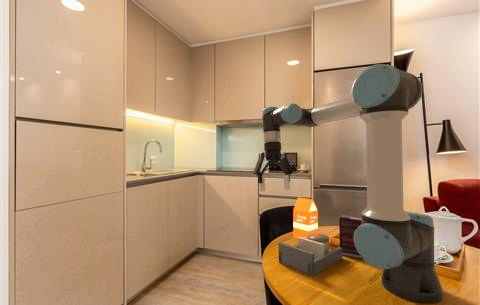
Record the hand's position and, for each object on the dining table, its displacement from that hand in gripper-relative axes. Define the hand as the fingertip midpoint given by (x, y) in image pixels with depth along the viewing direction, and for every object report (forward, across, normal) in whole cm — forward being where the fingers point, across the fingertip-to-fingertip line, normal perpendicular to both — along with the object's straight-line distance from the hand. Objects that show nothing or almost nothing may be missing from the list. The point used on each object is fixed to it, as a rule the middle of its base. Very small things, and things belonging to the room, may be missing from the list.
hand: (275, 190), depth 106 cm
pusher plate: (+26, -3, +15) cm, 30 cm away
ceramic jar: (+26, -8, +14) cm, 30 cm away
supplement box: (+28, -21, +19) cm, 40 cm away
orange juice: (+25, -21, -5) cm, 33 cm away
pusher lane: (+27, -4, +14) cm, 31 cm away
